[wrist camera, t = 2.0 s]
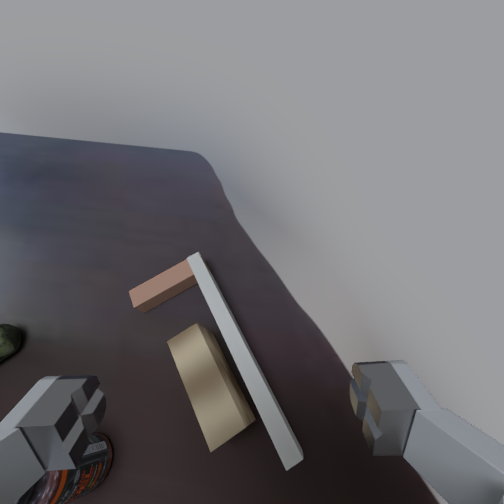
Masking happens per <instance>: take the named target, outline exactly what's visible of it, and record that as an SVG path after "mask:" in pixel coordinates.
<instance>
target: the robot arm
mask: <svg viewBox="0 0 504 504" xmlns="http://www.w3.org/2000/svg"><path fill="white" fill-rule="evenodd" d="M352 374H353V376H354V379H353V380H352V381H351V382H350V390H349V391H350V399H351V403H352V407H353V409H354V412H355V415H356V416H357V417H358V418H359V419H360V420H361V421H363V428H362V432H363V434H364V437H365V439H366V442H367V444H368V446H369V449H370V451H371V454H372V456H377V455H404V456H403V457H404V458H405V459H406V460H407V461H408V462H409V463H410V465H411V466H412V467H413V468H414V469H415V470H416V471H417V472H418V473H419V474H420V475H421V476H422V477H423V478H424V479H425V480H426V481H427V482H428V483H429V484H430V485H431V486H432V487H433V488H434V489H435V490H436V491H437V492H438V493H439V494H440V495H441V496H442V497H443V498H444V499H445V500H446V501H447V502H448V503H449V504H504V445H502V444H501V443H499V442H498V441H496V440H495V439H493V438H492V437H490V436H489V435H487V434H485V433H484V432H482V431H481V430H479V429H478V428H476V427H475V426H473V425H472V424H470V423H469V422H467V421H465V420H464V419H462V418H461V417H459V416H458V415H456V414H454V413H453V412H451V411H450V410H448V409H442V408H441V407H440V406H439V405H438V403H437V402H436V401H435V399H434V398H433V396H432V395H431V394H430V393H429V391H428V390H427V389H426V387H425V386H424V385H423V383H422V382H421V381H420V380H419V378H418V377H417V375H416V374H415V373H414V372H413V370H412V369H411V367H410V366H409V365H408V364H407V362H405V361H404V360H396V361H376V362H360V363H354V364H353V366H352ZM99 385H100V382H99V380H98V377H97V376H94V375H81V376H46V377H44V378H42V379H40V380H39V381H38V382H37V383H36V384H35V385H34V386H33V388H32V389H31V390H30V391H29V392H28V393H27V394H26V395H25V396H24V397H23V398H22V400H21V401H20V402H19V403H18V404H17V405H16V406H15V407H14V408H13V409H12V410H11V412H10V413H9V414H8V415H7V416H6V417H5V418H4V419H3V420H2V421H1V422H0V504H14V503H15V502H16V501H17V500H18V499H19V498H20V497H21V496H22V495H23V494H24V493H25V492H26V491H27V490H28V489H29V488H31V487H32V486H33V485H34V484H35V483H36V482H37V481H38V480H39V479H40V478H41V477H42V476H43V475H44V474H45V471H53V470H66V469H76V468H77V466H78V464H79V462H80V460H81V459H82V457H83V455H84V453H85V451H86V449H87V448H88V446H89V444H90V438H89V435H90V434H91V433H92V432H94V431H95V430H96V429H97V428H98V427H99V425H100V423H101V422H102V420H103V418H104V414H105V410H106V398H105V395H104V393H102V392H101V391H100V390H98V389H97V388H98V387H99Z"/></svg>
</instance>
